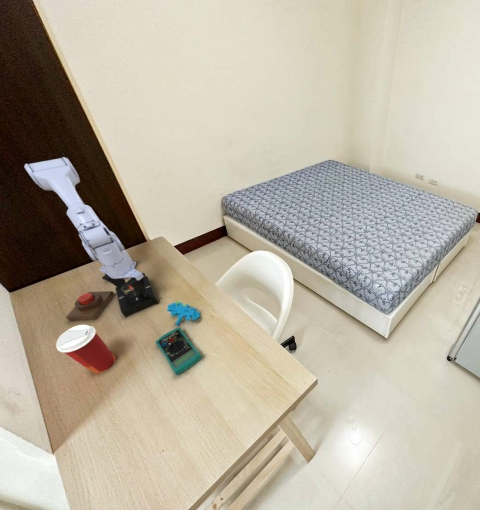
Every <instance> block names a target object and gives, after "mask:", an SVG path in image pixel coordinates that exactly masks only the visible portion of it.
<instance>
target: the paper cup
mask: <svg viewBox="0 0 480 510" xmlns="http://www.w3.org/2000/svg"><path fill="white" fill-rule="evenodd" d="M55 344H56V346H55V347H56V349H57V351H58V352H60V353H64V354H65V355H67V356H68V357H70V358H71V359H73V360H74V361H75V362H77V363H78V364H80V365H81V366H83V367H84V368H86V369H87V370H88V371H90V372H92V373H93V374H102V373H104V372H106V371H108V370H110V369H111V368H112V367H113V366H114V364H115V362H116V357H115V355H114V353H113V352H112V351H111V349H110V348H109V347H108V346H107V344H106V343H105V342H104V340H103V339H102V338H101V337H100V336H99V335H98V333H97V331H96V328H95V327H94V326H91V325H88V324H79V325H75V326H73V327H70V328H69V329H67V330H66V331H64V332H63V333H61V334H60V336H58V338H57V340H56V343H55Z"/></svg>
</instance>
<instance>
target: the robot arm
mask: <svg viewBox="0 0 480 510" xmlns="http://www.w3.org/2000/svg"><path fill="white" fill-rule="evenodd" d="M23 167H24V169H25V171H26V172H27V173H28V175H29V176H30V178H31V179H32V181H33V182H34V183H35V184H36V185H38V187H39V188H40V189H43V191H53V192H54V193H56V194H57V195H58V196H59V198H60V199H61V200H62V202H63V203H64V204H65V206H66V207H67V211H66V216H67V217H68V218H69V220H70V221H71V223H72V224H73V225H74V227H75V228H76V230H77V231H78V236H79V238H80V240H81V245H82V246H83V248H84V250H85V251H86V253H87V254H88V256H89V258H90V259H91V260H92V261H94V262H98V263H100V264H101V267H100V268H99V269H98V270H99V271H100V273H102V274H104V275H103V276H102V277H101V279H102V280H104V281H107V282H109V283H110V284H112V285H114V286H115V288H116V287H117V288H119V289H120V290H121V287H122V285H123V284H124V283H126V284H128V285H130V286H132V287H133V288H134V289H135V290H136V291H137V292H138V293H139V294H142V293H143V292H144V291H145V290H146V289H145V284H144V279H145V276H146V273H145V272H141V271H138V270H137V269H135V268H136V265H137V261H133V259H132V258H131V256H130V255H129V252H128V251H127V250H126V249H125V246H124V245H123V244H122V242H121V241H120V239H119V237H118V235H116V234H115V233H114V232H113V231H111V230H109V228H108V227H107V226H106V225H105V223H103V221H102V220H100V218H99V216H97V214H96V213H95V211H94V210H93V207H91V206H89V205H88V204H85V203H84V202H83V199H82V198H81V197H80V195H79V194H78V192H77V190H76V185H78V184H79V183H80V182H81V180H80V177H79V174H78V172H77V170H76V168H75V167H74V166H73V164H72V162H71V161H70V160H69V158H68V157H64V156H62V157H59V158H55V159H48V160H43V161H38V162H33V163H25V164H24V166H23ZM125 279H129V280H127V281H126V280H125Z"/></svg>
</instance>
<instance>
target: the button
mask: <svg viewBox="0 0 480 510" xmlns="http://www.w3.org/2000/svg"><path fill="white" fill-rule="evenodd" d="M77 300H78V301H79V302H80V303H81V304H82V305H85V304H88V303H90V302H92V301H93V300H94V297H93V296H92V294H90V293H88V292H87V293H83V294H81V295H80V296H79V297H78V298H77Z"/></svg>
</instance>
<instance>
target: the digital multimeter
mask: <svg viewBox="0 0 480 510" xmlns="http://www.w3.org/2000/svg"><path fill="white" fill-rule="evenodd" d="M154 342H155V345H156V346H157V348H159V350H160V351H161V352H162V354H163V356H164V357H165V359H166V361H167V362H168V364H169V366H170V367H171V369H172V371H173V373H174V374H175V376H178V375H180V374H182V373H184V372H186V371H187V370H188V369H190V368H191V367H193V366H194V365H195V364H196V363H198V362H199V361H201V359H203V356H202V355H201V353H200V352H199V351H198V349H197V348H196V347H195V346H194V345H193V344H192V342H191V341H190V340H189V338H188V336H187V335H186V334H185V332H184V331H183V330H182V328H181V327H176V328H174V329H171V330H170V331H168V332H166V333H164V334H163V335H162V336H161V337H159V338H157V340H155V341H154Z"/></svg>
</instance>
